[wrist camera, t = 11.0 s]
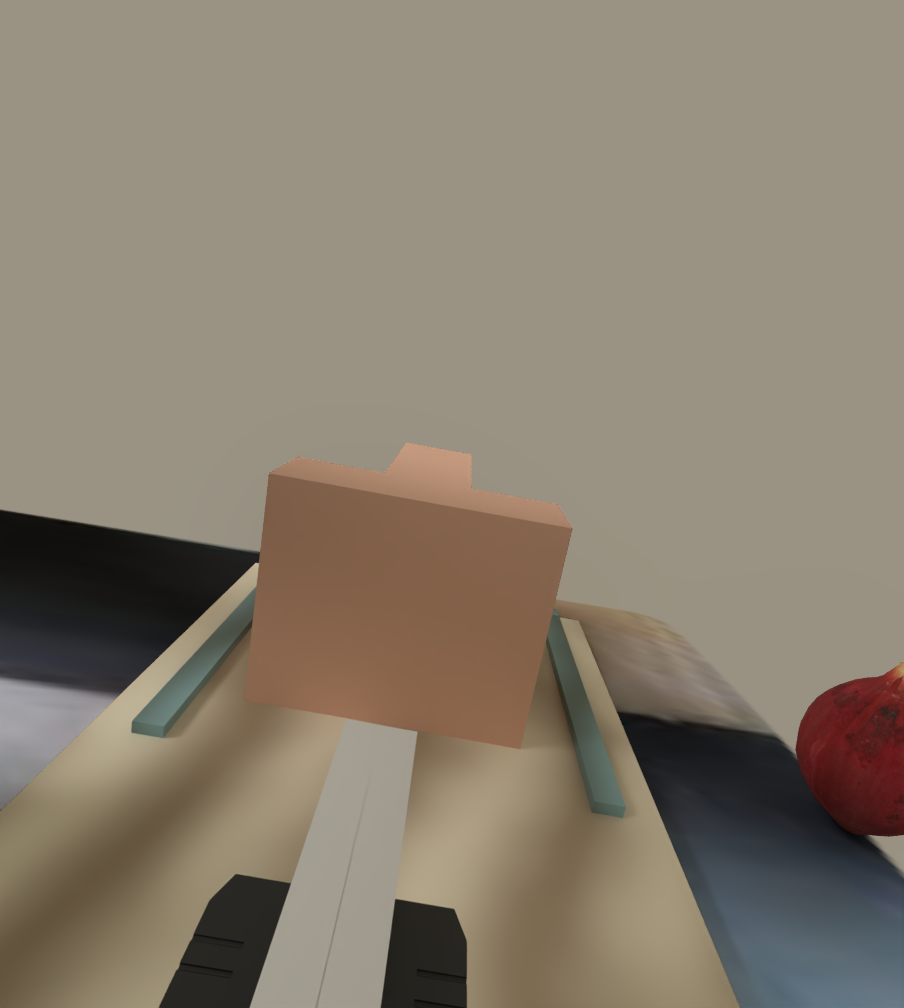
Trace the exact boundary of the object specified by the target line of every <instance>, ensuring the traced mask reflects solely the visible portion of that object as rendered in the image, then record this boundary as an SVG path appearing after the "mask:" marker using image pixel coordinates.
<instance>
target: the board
mask: <svg viewBox="0 0 904 1008" xmlns="http://www.w3.org/2000/svg"><path fill="white" fill-rule="evenodd" d="M258 568H259V563H255V564H254V565H253V566H252V567H251V568H250V569H249V570H248V571H247V572H246V573H245V574H244V575H243V576H242V577H241V578H240V579H239V580H238V581H237V582H236V583H235V584H234V585H233V586H232V587H231V588H230V589H228V590H227V591H226V592H225V593H224V594H223V595H222V596H221V597H220V598H219V599H218V600H217V601H216V602H215V603H214V604H213V605H212V606H211V607H210V608H209V609H208V610H207V611H206V612H205V613H204V614H203V615H202V616H201V617H200V618H199V619H198V620H197V621H196V622H195V623H193V624H192V625H191V626H190V627H189V628H188V629H187V630H186V631H185V632H184V633H183V634H182V635H181V636H180V637H179V638H178V639H177V640H176V641H175V642H174V643H173V644H172V645H171V646H170V647H169V648H168V649H167V650H166V651H165V652H164V653H163V654H162V655H161V656H160V657H158V658H157V659H156V660H155V661H154V662H153V663H152V664H151V665H150V666H149V667H148V668H147V669H146V670H145V671H144V672H143V673H142V674H141V675H140V676H139V677H138V678H137V679H136V680H135V681H134V682H133V683H132V684H131V685H130V686H129V687H128V688H127V689H126V690H125V691H123V692H122V693H121V694H120V695H119V696H118V697H117V698H116V699H115V700H114V701H113V702H112V703H111V704H110V705H109V706H108V707H107V708H106V709H105V710H104V711H103V712H102V713H101V714H100V715H99V716H98V717H97V718H96V719H95V720H94V721H93V722H92V723H91V724H90V725H88V726H87V727H86V728H85V729H84V730H83V731H82V732H81V733H80V734H79V735H78V736H77V737H76V738H75V739H74V740H73V741H72V742H71V743H70V744H69V745H68V746H67V747H66V748H65V749H64V750H63V751H62V752H61V753H60V754H59V755H58V756H57V757H56V758H55V759H54V760H52V761H51V762H50V763H49V764H48V765H47V766H46V767H45V768H44V769H43V770H42V771H41V772H40V773H39V774H38V775H37V776H36V777H35V778H34V779H33V780H32V781H31V782H30V783H29V784H28V785H27V786H26V787H25V788H24V789H23V790H22V791H21V792H20V793H19V794H17V795H16V796H15V797H14V798H13V799H12V800H11V801H10V802H9V803H8V804H7V805H6V806H5V807H4V808H3V809H2V810H1V811H0V1008H159V1005H160V1003H161V1001H162V999H163V997H164V995H165V993H166V991H167V989H168V986H169V984H170V982H171V980H172V978H173V976H174V974H175V972H176V970H178V968H179V965H180V961H181V959H182V957H183V955H184V953H185V951H186V949H187V946H188V944H189V942H190V940H192V938H193V934H194V932H195V930H196V927H197V925H198V923H199V921H200V919H201V917H202V915H203V913H204V911H205V908H206V906H207V904H208V902H209V900H210V899H211V898H212V897H213V896H214V895H215V894H216V893H217V892H218V891H219V890H220V889H221V888H222V887H223V886H224V885H225V884H226V883H227V882H228V881H229V880H230V879H231V878H232V877H233V876H234V875H235V874H240V875H246V876H252V877H257V878H263V879H269V880H275V881H281V882H287V883H291V882H292V880H293V877H294V874H295V871H296V868H297V865H298V862H299V859H300V856H301V853H302V850H303V847H304V844H305V841H306V838H307V835H308V832H309V829H310V826H311V823H312V820H313V817H314V814H315V811H316V808H317V805H318V802H319V799H320V796H321V793H322V790H323V787H324V784H325V781H326V778H327V775H328V772H329V769H330V766H331V763H332V760H333V757H334V754H335V751H336V748H337V745H338V742H339V739H340V736H341V733H342V730H343V727H344V724H345V721H346V719H348V718H342V717H336V716H331V715H325V714H320V713H314V712H308V711H303V710H297V709H291V708H286V707H280V706H274V705H269V704H263V703H257V702H252V701H246V700H244V695H245V686H246V677H247V668H248V659H249V650H250V640H251V631H252V622H253V613H254V604H255V595H256V586H257V577H258ZM348 720H353V719H348ZM354 721H359V720H354ZM359 722H365V721H359ZM365 723H370V722H365ZM371 724H376V723H371ZM376 725H382V724H376ZM382 726H387V725H382ZM388 727H393V726H388ZM393 728H398V727H393ZM399 729H404V728H399ZM405 730H410V729H405ZM411 731H415V730H411ZM416 732H417V739H416V746H415V754H414V761H413V769H412V776H411V784H410V791H409V799H408V806H407V814H406V821H405V829H404V836H403V844H402V851H401V859H400V866H399V874H398V881H397V889H396V896H395V899H399V900H405V901H411V902H417V903H423V904H429V905H435V906H441V907H446V908H452V909H455V912H456V914H457V917H458V919H459V922H460V925H461V927H462V930H463V932H464V935H465V937H466V940H467V981H466V984H467V1008H740V1006H739V1004H738V1001H737V999H736V997H735V994H734V992H733V989H732V987H731V985H730V982H729V980H728V977H727V975H726V973H725V970H724V968H723V965H722V963H721V961H720V958H719V956H718V953H717V951H716V949H715V946H714V944H713V941H712V939H711V937H710V934H709V932H708V929H707V927H706V925H705V922H704V920H703V918H702V915H701V913H700V910H699V908H698V906H697V903H696V901H695V898H694V896H693V894H692V891H691V889H690V886H689V884H688V882H687V879H686V877H685V874H684V872H683V870H682V867H681V865H680V862H679V860H678V858H677V855H676V853H675V850H674V848H673V846H672V843H671V841H670V838H669V836H668V834H667V831H666V829H665V827H664V824H663V822H662V819H661V817H660V815H659V812H658V810H657V807H656V805H655V803H654V800H653V798H652V795H651V793H650V791H649V788H648V786H647V783H646V781H645V779H644V776H643V774H642V771H641V769H640V767H639V764H638V762H637V759H636V757H635V755H634V752H633V750H632V747H631V745H630V743H629V740H628V738H627V736H626V733H625V731H624V728H623V726H622V724H621V721H620V719H619V716H618V714H617V712H616V709H615V707H614V704H613V702H612V700H611V697H610V695H609V692H608V690H607V688H606V685H605V683H604V680H603V678H602V676H601V673H600V671H599V668H598V666H597V664H596V661H595V659H594V656H593V654H592V652H591V649H590V647H589V645H588V642H587V640H586V637H585V635H584V633H583V630H582V628H581V625H580V623H579V621H578V620H572V619H566V618H561V617H559V614H558V611H557V610H556V609H553V613H552V617H551V621H550V626H549V630H548V634H547V638H546V642H545V647H544V651H543V655H542V659H541V664H540V668H539V672H538V676H537V681H536V685H535V689H534V693H533V697H532V702H531V706H530V710H529V714H528V719H527V723H526V727H525V731H524V735H523V740H522V744H521V748H520V749H517V748H511V747H506V746H500V745H494V744H489V743H483V742H477V741H472V740H466V739H460V738H455V737H449V736H444V735H438V734H432V733H427V732H421V731H416Z"/></svg>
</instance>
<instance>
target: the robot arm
mask: <svg viewBox="0 0 904 1008" xmlns="http://www.w3.org/2000/svg"><path fill="white" fill-rule="evenodd" d="M416 739H417V732H416V731H411V730H405V729H399V728H393V727H388V726H382V725H376V724H371V723H365V722H359V721H354V720H348V719H346V721H345V724H344V727H343V730H342V733H341V736H340V739H339V742H338V745H337V748H336V751H335V754H334V757H333V760H332V763H331V766H330V769H329V772H328V775H327V778H326V781H325V784H324V787H323V790H322V793H321V796H320V799H319V802H318V805H317V808H316V811H315V814H314V817H313V820H312V823H311V826H310V829H309V832H308V835H307V838H306V841H305V844H304V847H303V850H302V853H301V856H300V859H299V862H298V865H297V868H296V871H295V874H294V877H293V880H292V882H291V883H287V882H281V881H275V880H269V879H263V878H257V877H252V876H246V875H240V874H235V875H234V876H233V877H232V878H231V879H230V880H229V881H228V882H227V883H226V884H225V885H224V886H223V887H222V888H221V889H220V890H219V891H218V892H217V893H216V894H215V895H214V896H213V897H212V898H211V899H210V900H209V902H208V904H207V906H206V908H205V911H204V913H203V915H202V917H201V919H200V921H199V923H198V925H197V927H196V930H195V932H194V934H193V938H192V940H190V942H189V944H188V946H187V949H186V951H185V953H184V955H183V957H182V959H181V961H180V965H179V968H178V970H176V972H175V974H174V976H173V978H172V980H171V982H170V984H169V986H168V989H167V991H166V993H165V995H164V997H163V999H162V1001H161V1003H160V1005H159V1008H467V984H466V981H467V940H466V937H465V935H464V932H463V930H462V927H461V925H460V922H459V919H458V917H457V914H456V912H455V909H452V908H446V907H441V906H435V905H429V904H423V903H417V902H411V901H405V900H399V899H395V896H396V889H397V881H398V874H399V866H400V859H401V851H402V844H403V836H404V829H405V821H406V814H407V806H408V799H409V791H410V784H411V776H412V769H413V761H414V754H415V746H416Z"/></svg>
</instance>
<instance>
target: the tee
mask: <svg viewBox="0 0 904 1008" xmlns="http://www.w3.org/2000/svg"><path fill="white" fill-rule="evenodd" d="M471 477H472V476H471V454H465V453H460V452H455V451H449V450H444V449H439V448H433V447H428V446H422V445H417V444H411V443H407V444H406V445H405V446H404V447H403V449H402V450H401V452H400V453H399V455H398V456H397V457H396V458H395V460H394V461H393V462H392V464H391V465H390V466H389V468H388V469H387V470H386V472H385V473H382V472H377V471H372V470H366V469H360V468H355V467H350V466H345V465H339V464H333V463H328V462H322V461H317V460H311V459H306V458H301V457H297V458H295V459H293V460H291V461H290V462H288V463H286V464H284V465H283V466H281V467H279V468H277V469H276V470H274V471H272V472H270V473H269V479H268V487H267V496H266V505H265V514H264V523H263V533H262V541H261V550H260V559H259V568H258V577H257V586H256V595H255V604H254V613H253V622H252V631H251V640H250V650H249V659H248V668H247V677H246V686H245V695H244V700H246V701H252V702H257V703H263V704H269V705H274V706H280V707H286V708H291V709H297V710H303V711H308V712H314V713H320V714H325V715H331V716H336V717H342V718H348V719H353V720H359V721H365V722H370V723H376V724H382V725H387V726H393V727H398V728H404V729H410V730H415V731H421V732H427V733H432V734H438V735H444V736H449V737H455V738H460V739H466V740H472V741H477V742H483V743H489V744H494V745H500V746H506V747H511V748H517V749H520V748H521V744H522V740H523V735H524V731H525V727H526V723H527V719H528V714H529V710H530V706H531V702H532V697H533V693H534V689H535V685H536V681H537V676H538V672H539V668H540V664H541V659H542V655H543V651H544V647H545V642H546V638H547V634H548V630H549V626H550V621H551V617H552V613H553V609H554V604H555V600H556V596H557V592H558V587H559V583H560V579H561V575H562V571H563V566H564V562H565V557H566V554H567V550H568V545H569V541H570V537H571V533H572V527H571V525H570V524H569V522H568V520H567V519H566V517H565V515H564V514H563V512H562V510H561V509H560V507H559V505H558V504H552V503H547V502H541V501H536V500H530V499H525V498H519V497H514V496H508V495H503V494H497V493H492V492H487V491H480V490H476V489H472V488H471V487H472V478H471Z"/></svg>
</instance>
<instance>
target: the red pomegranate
mask: <svg viewBox="0 0 904 1008" xmlns="http://www.w3.org/2000/svg"><path fill="white" fill-rule="evenodd" d="M796 754H797V759H798V764H799V768H800V770H801V772H802V774H803V776H804V778H805V780H806V782H807V784H808V786H809V788H810V790H811V792H812V794H813V796H814V798H815V799H816V800H817V801H818V802H819V804H820V805H821V806H822V807H823V808H824V810H825V811H826V812H827V813H828V814H829V815H830V816H831V817H832V818H833V819H834V820H835V821H836V823H837V824H838V825H839V826H840V827H841V828H843V829H844V830H846V831H847V832H850V833H852V834H856V835H875V836H888V837H889V836H898V835H904V662H901V663H900V665H898V666H897V667H895V668H893V669H892V670H891V671H889V672H887V673H886V674H884V675H883V676H879V677H870V678H862V679H856V680H852V681H849V682H846V683H843V684H840V685H838V686H835V687H833V688H831V689H829V690H827V691H826V692H824V693H823V694H821V695H820V696H819V697H817V698H816V699H815V701H814V702H813V703H812V704H811V705H810V706H809V707H808V709H807V711H806V713H805V715H804V717H803V719H802V721H801V723H800V727H799V731H798V737H797V744H796Z"/></svg>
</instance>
